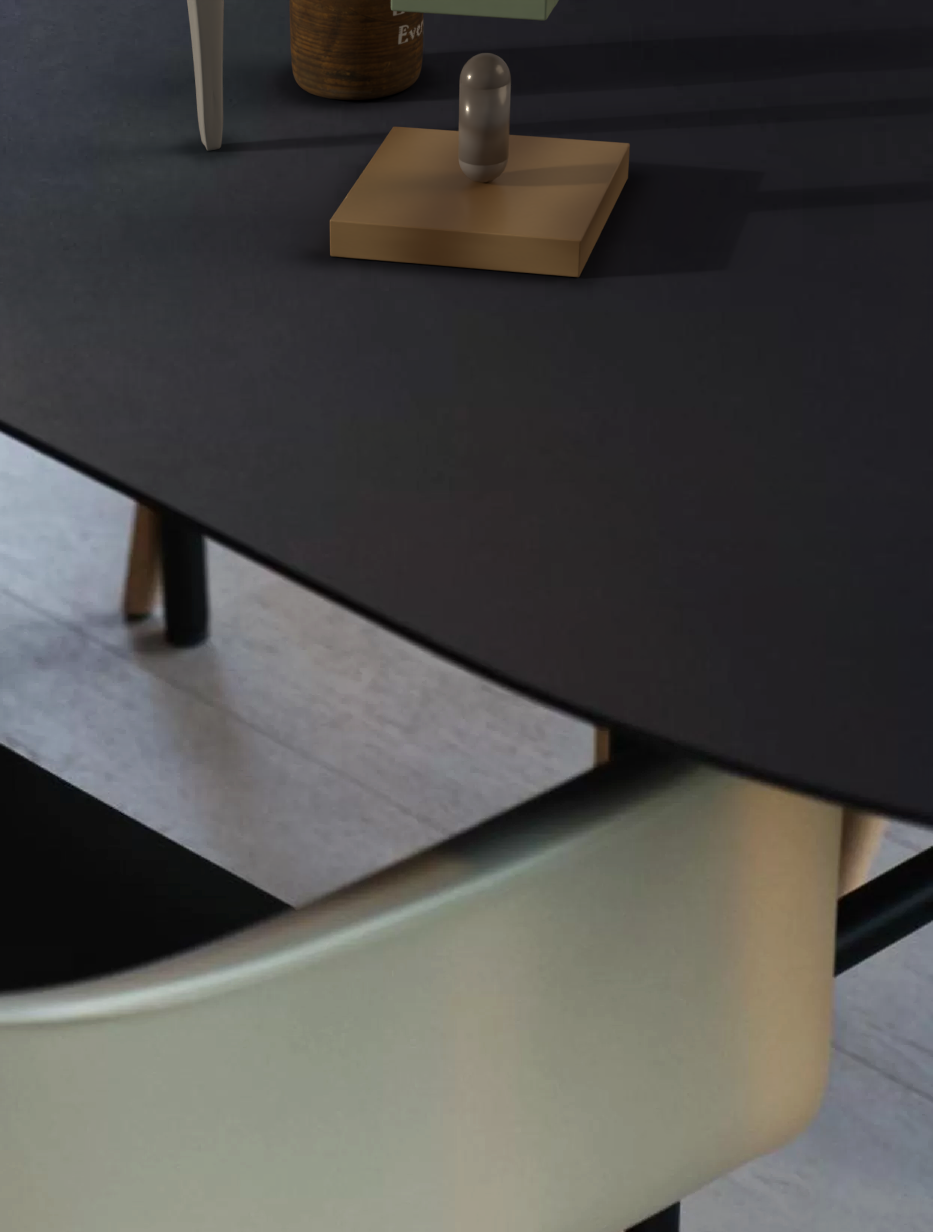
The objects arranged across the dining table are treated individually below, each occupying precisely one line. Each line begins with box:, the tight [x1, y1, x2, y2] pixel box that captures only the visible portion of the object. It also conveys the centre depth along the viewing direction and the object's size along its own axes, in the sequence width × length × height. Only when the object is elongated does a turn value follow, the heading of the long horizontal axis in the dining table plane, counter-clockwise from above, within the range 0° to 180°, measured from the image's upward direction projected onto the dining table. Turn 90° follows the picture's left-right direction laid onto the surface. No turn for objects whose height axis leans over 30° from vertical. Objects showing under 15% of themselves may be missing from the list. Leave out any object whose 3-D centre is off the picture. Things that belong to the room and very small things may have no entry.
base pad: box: [329, 52, 631, 278], centre depth 107 cm, size 10×10×6 cm
